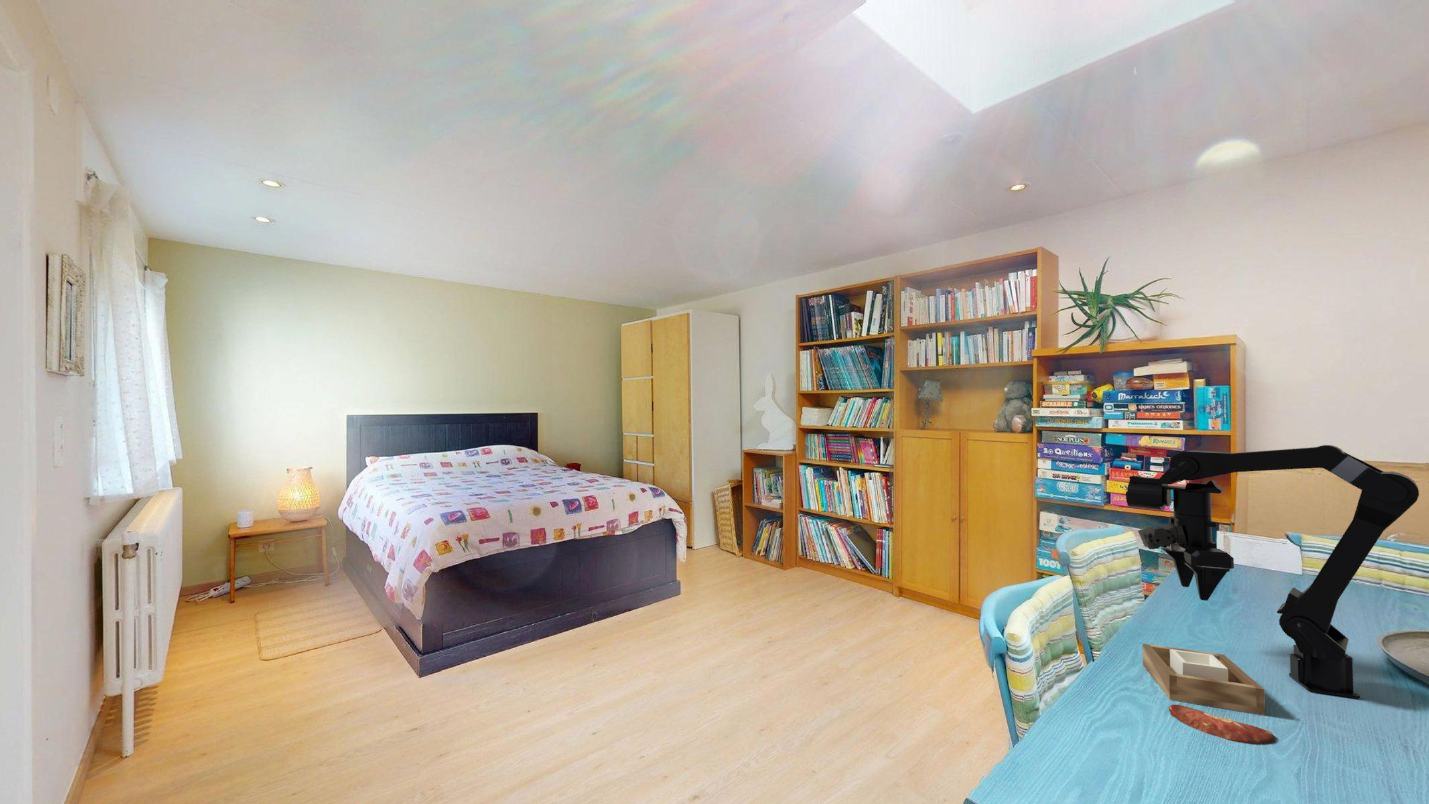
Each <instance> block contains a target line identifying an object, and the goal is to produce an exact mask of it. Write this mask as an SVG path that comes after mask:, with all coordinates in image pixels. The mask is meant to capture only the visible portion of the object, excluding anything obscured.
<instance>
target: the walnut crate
mask: <svg viewBox="0 0 1429 804" xmlns="http://www.w3.org/2000/svg"><path fill="white" fill-rule="evenodd" d="M1170 649H1173V650H1181V651H1188V652H1195V653H1203V654H1210V655H1213V656H1214V657H1215V658H1216V659H1218V660H1219V661H1220V662H1221V663H1222V664H1223V665H1224V666H1225V667H1226V668H1227V669H1228V682H1227V681H1221V680H1214V679H1207V678H1201V677H1194V676H1187V675H1181V674H1174V672H1173V671H1172V670H1171V669H1170ZM1142 665H1143V667H1144V669H1146V671H1147V673H1149V675H1150V676H1151V678H1152V679H1153V678H1154V679H1153V680H1154V681H1155V682H1156V684H1157V683H1158V684H1157V685H1158V686H1159V688H1160V687H1161V688H1160V689H1161V690H1162V692H1163V691H1164V692H1165V693H1166V694H1165V693H1164V692H1163V693H1164V694H1165V695H1166V697H1167V698H1168V699H1169V700H1171V701H1174V702H1175V701H1176V702H1183V703H1188V704H1195V705H1200V706H1207V707H1212V708H1213V707H1214V708H1218V709H1225V710H1231V711H1237V712H1243V713H1247V714H1255V715H1262V716H1266V705H1265V703H1266V702H1265V700H1266V698H1265V696H1266V694H1265V689H1264V688H1263V687H1262V686H1261V685H1260V684H1259V682H1257V681H1256V680H1254V679H1253V678H1252V677H1251V676H1249V674H1247V673H1246V672H1245V671H1244V670H1242V669H1241V668H1240V667H1239V666H1238V665H1237V664H1236V663H1234V662H1233V661H1232V660H1231V659H1230V658H1229V657H1228V656H1226V655H1225V654H1222V653H1215V652H1207V651H1206V652H1205V651H1200V650H1193V649H1186V648H1185V649H1183V648H1179V647H1178V648H1177V647H1169V646H1163V645H1156V644H1149V643H1148V644H1147V643H1142Z"/></svg>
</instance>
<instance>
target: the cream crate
mask: <svg viewBox="0 0 1429 804" xmlns="http://www.w3.org/2000/svg"><path fill="white" fill-rule="evenodd" d="M1170 669H1171V670H1172V671H1173V672H1174V674H1181V675H1187V676H1194V677H1201V678H1207V679H1214V680H1221V681H1227V682H1228V669H1227V668H1226V667H1225V666H1224V665H1223V664H1222V663H1221V662H1220V661H1219V660H1218V659H1216V658H1215V657H1214V656H1213V655H1210V654H1203V653H1195V652H1188V651H1181V650H1173V649H1170Z"/></svg>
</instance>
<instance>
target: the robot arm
mask: <svg viewBox="0 0 1429 804" xmlns="http://www.w3.org/2000/svg"><path fill="white" fill-rule="evenodd" d="M1300 469H1303V470H1304V469H1306V470H1307V469H1324V470H1326V471H1328V472H1330V474H1333V475H1334V476H1336V477H1337V478H1340V479H1341V480H1343V481H1345V482H1346V483H1348V484H1350V485H1352V486H1353V487H1355V488H1357V489H1359V490H1360V495H1359V498H1358V502H1357V504H1356V508H1355V511H1354V514H1353V518H1352V520H1351V522H1350V523H1349V524H1348V527H1346V530H1345V531H1344V533H1343V535H1341V537H1340V539H1339V540H1338V542H1337V544H1336V546H1335V547H1334V548H1333V550H1332V551H1331V553H1330V555H1328V556H1329V557H1328V558H1327V559H1326V561H1325V563H1324V564H1323V566H1322V567H1321V569H1320V570H1319V572H1318V574H1317V575H1316V577H1315V578H1314V580H1313V582H1312V583H1311V584H1310V585H1309V586H1308V587H1307V588H1306V589H1305V590H1303V591H1301V590H1299V589H1297V588H1296V587H1292V588H1291V590H1290V591H1289V592H1288V594H1287V597H1286V600H1285V602H1283V603H1281V604H1280V606H1279V608H1278V609H1277V611H1276V614H1280V617H1279V619H1278V625H1279V626H1280V629H1281V630H1282V632H1283V633H1284V634H1286V636H1287V637H1289V638H1291V639H1292V640H1293V641H1294V643H1295V644H1293V645H1292V648H1293V653H1290V654H1289V665H1290V669H1289V670H1290V672H1289V673H1288V676H1289V677H1290V678H1292V680H1294V681H1295V682H1296V683H1298V684H1299V685H1300V686H1301V687H1303V688H1304V689H1306V690H1307V691H1309V692H1312V693H1320V694H1321V693H1322V694H1326V695H1333V696H1340V697H1345V698H1346V697H1348V698H1353V699H1361V694H1359V693H1357V692H1356V691H1354V668H1353V667H1354V666H1353V665H1354V663H1353V659H1354V658H1353V657H1352V656H1350V655H1349V654H1347V653H1346V652H1347V648H1348V644H1349V641H1350V640H1349V638H1348V637H1347V636H1346V635H1345V634H1343V633H1342V632H1341V631H1340V630H1339V629H1337V627H1335V626H1334V625H1333V624H1332V621H1333V618H1334V615H1335V611H1336V609H1337V604H1338V602H1339V599H1340V598H1341V596H1342V595H1343V593H1344V592H1345V591H1346V589H1347V587H1348V586H1349V584H1350V583H1351V581H1352V580H1353V578H1354V577H1355V575H1356V573H1357V572H1358V570H1359V569H1360V567H1361V566H1362V565H1363V563H1364V561H1365V560H1366V558H1367V556H1368V555H1369V553H1370V552H1371V551H1372V549H1373V547H1374V546H1375V545H1376V544H1377V542H1378V540H1379V538H1380V537H1381V535H1382V534H1383V532H1384V531H1385V530H1387V529H1388V528H1389V527H1390V526H1391V525H1392V524H1393V523H1394V522H1396V521H1397V520H1398V519H1399V518H1400V517H1401V516H1402V515H1404V514H1405V513H1406V512H1407V511H1408V510H1409V509H1410V508H1411V507H1412V506H1414V504H1416V502H1417V501H1418V499H1419V497H1420V491H1419V486H1418V485H1417V483H1416V482H1415V480H1413V479H1412V478H1411V477H1409V476H1408V475H1405V474H1404V473H1400V472H1396V471H1383V470H1381V469H1380V468H1378V467H1376V466H1374V465H1372V464H1370V463H1367V462H1366V461H1363V460H1361V459H1359V458H1357V457H1355V456H1353V455H1351V454H1349V453H1347V452H1345V451H1343V449H1342V448H1339V447H1338V446H1335V445H1333V444H1332V445H1331V444H1323V445H1319V446H1315V447H1314V446H1313V447H1300V448H1283V449H1273V450H1272V449H1271V450H1259V451H1258V450H1257V451H1243V452H1225V451H1224V452H1223V451H1213V450H1212V451H1211V450H1196V449H1195V450H1186V451H1185V450H1184V451H1180V452H1177V453H1175V454H1174V455H1173V456H1172V457H1171V459H1170V461H1169V468H1168V469H1167V470H1166V471H1165V472H1164V473H1163V474H1161V476H1160V477H1149V476H1148V477H1147V476H1141V475H1134V474H1133V475H1129V482H1128V485H1127V488H1126V491H1125V501H1126V504H1127V507H1129V508H1134V509H1144V510H1151V511H1152V510H1153V511H1162V512H1163V511H1164V510H1165V508H1166V507H1171V505H1172V502H1173V515H1170V516H1169V517H1168V523H1164V524H1161V525H1160V524H1159V525H1155V526H1151V527H1146V528H1142V529H1139V530H1137V533H1138V534H1139V537H1140V540H1141V541H1142V543H1143V546H1144V547H1146V548H1148V549H1149V550H1157V549H1159V548H1161V550H1162V551H1163V552H1164V553H1166V554H1167V556H1169V557H1170V558H1171V559H1172V562H1173V565H1174V568H1175V570H1176V573H1177V577H1178V579H1179V580H1178V581H1180V582H1179V583H1180V586H1181V587H1183V588H1190V585H1191V583H1192V580H1193V577H1195V584H1196V588H1197V593H1198V598H1199V599H1200V600H1201V601H1208V600H1209V599H1210V597H1211V596H1212V594H1213V593H1214V591H1215V590H1216V588H1217V587H1218V586H1219V584H1220V582H1221V581H1222V580H1223V579H1224V577H1225V575H1226V574H1227V573H1229V572H1230V571H1231V569H1234V568H1235V566H1234V565H1235V562H1234V560H1235V559H1234V557H1233V556H1232V555H1230V554H1229V553H1228V552H1226V551H1225V550H1223V549H1220V548H1217V546H1218V545H1217V542H1215V541H1213V528H1217V522H1216V521H1214V520H1212V517H1213V516H1212V494H1218V495H1219V494H1223V493H1224V492H1225V489H1224V488H1223V487H1221V485H1218V484H1217V481H1216V480H1214V479H1211V480H1209V481H1207V483H1202V482H1200V483H1199V482H1187V483H1186V484H1185V486H1176V485H1173V484H1176V483H1180V482H1183V481H1197V480H1202V479H1207V478H1213V477H1218V476H1222V475H1223V476H1224V475H1227V474H1234V473H1244V472H1245V473H1246V472H1262V471H1263V472H1265V471H1283V470H1284V471H1285V470H1287V471H1288V470H1300Z"/></svg>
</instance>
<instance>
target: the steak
mask: <svg viewBox="0 0 1429 804" xmlns="http://www.w3.org/2000/svg"><path fill="white" fill-rule="evenodd" d="M1168 711H1169V714H1170V716H1171V717H1173V718H1175V719H1176V720H1177V721H1179V722H1180V723H1182V724H1184V725H1186V726H1188V727H1190V728H1192V729H1194V730H1197V731H1199V732H1202V733H1204V734H1206V735H1211V736H1215V737H1218V738H1221V739H1224V740H1227V741H1231V742H1236V743H1241V744H1249V745H1257V746H1258V745H1267V744H1268V745H1270V744H1274V743H1275V742H1276V739H1275V738H1276V736H1275V735H1274V734H1273V733H1272V732H1271V731H1269V730H1266V729H1263V728H1262V727H1258V726H1255V725H1253V724H1252V725H1251V724H1248V723H1244V722H1238V721H1235V720H1233V719H1232V718H1225V717H1220V716H1219V715H1217V716H1216V715H1213V714H1211V713H1207V712H1205V711H1203V710H1198V709H1197V708H1196V709H1195V708H1192V707H1190V706H1189V707H1188V706H1184V705H1181V704H1171V705H1169V706H1168Z"/></svg>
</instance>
